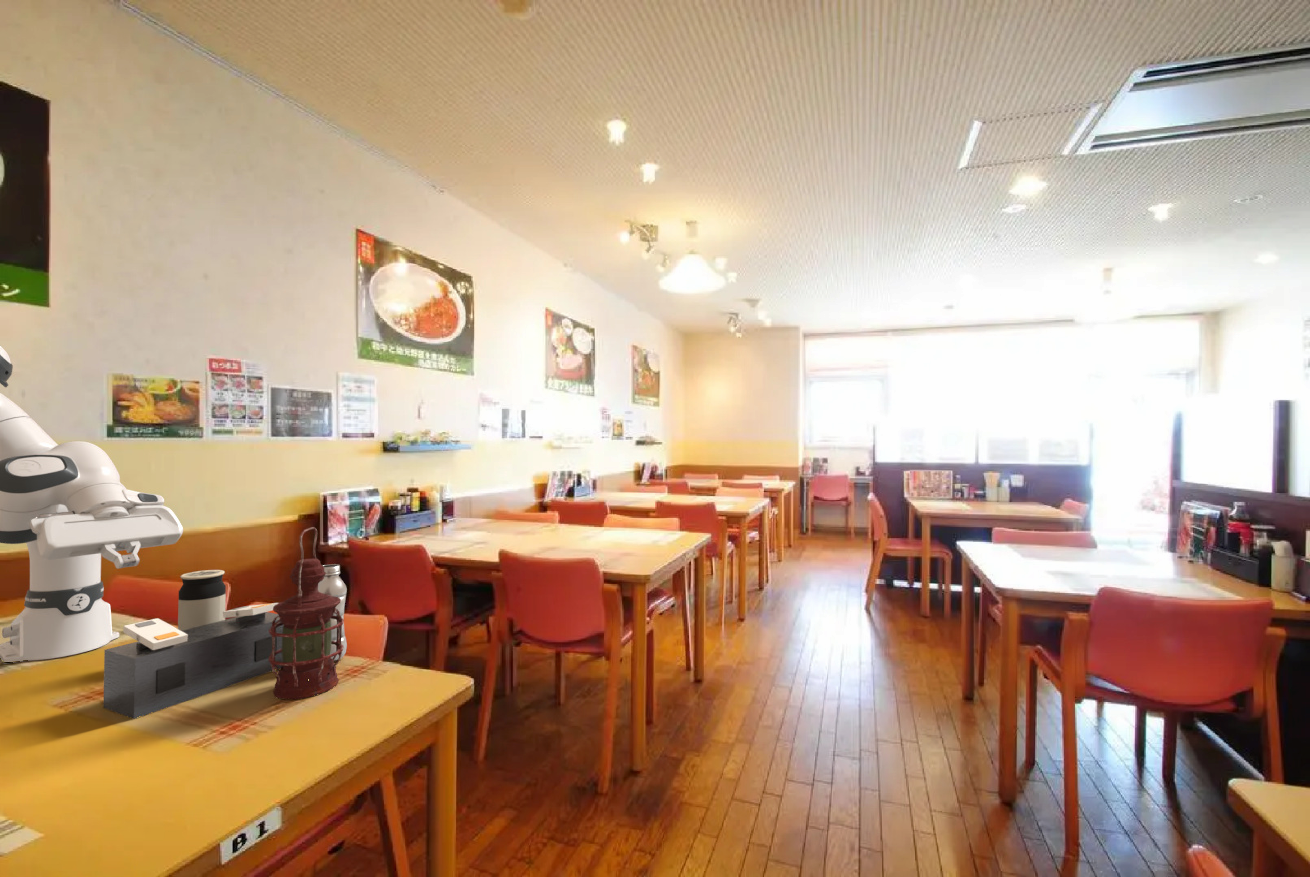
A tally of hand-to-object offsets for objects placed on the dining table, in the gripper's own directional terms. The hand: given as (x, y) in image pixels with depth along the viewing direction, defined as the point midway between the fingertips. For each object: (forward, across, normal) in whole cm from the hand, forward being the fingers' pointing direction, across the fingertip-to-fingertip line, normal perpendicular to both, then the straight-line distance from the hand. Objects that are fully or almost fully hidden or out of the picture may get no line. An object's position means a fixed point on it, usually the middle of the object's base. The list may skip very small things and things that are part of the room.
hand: (128, 565), depth 105 cm
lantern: (+37, +15, -3) cm, 40 cm away
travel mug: (+11, +16, +22) cm, 30 cm away
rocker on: (+15, 0, +1) cm, 15 cm away
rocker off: (+15, +16, +1) cm, 22 cm away
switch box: (+23, +8, +10) cm, 26 cm away
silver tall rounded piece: (+30, +26, +3) cm, 40 cm away
